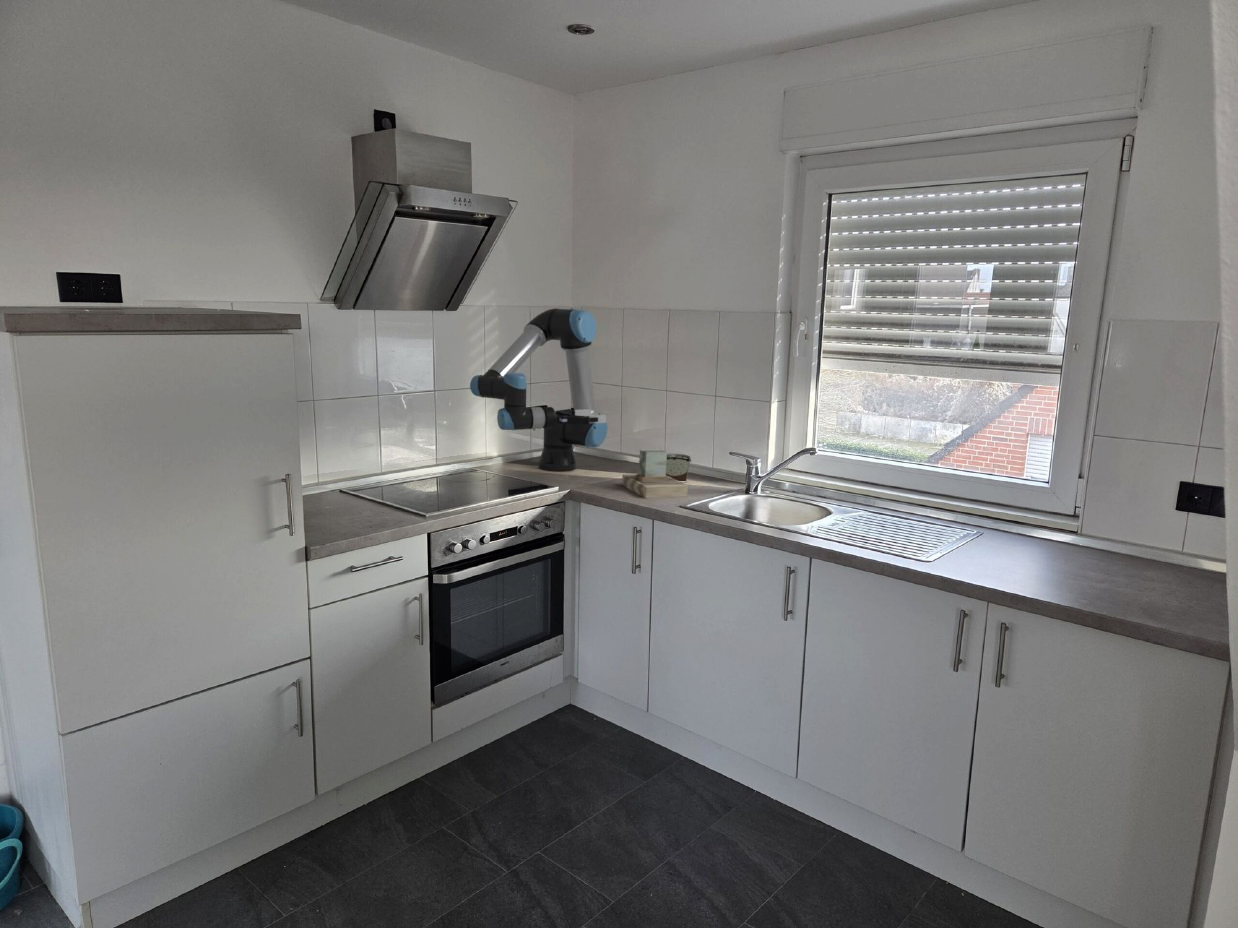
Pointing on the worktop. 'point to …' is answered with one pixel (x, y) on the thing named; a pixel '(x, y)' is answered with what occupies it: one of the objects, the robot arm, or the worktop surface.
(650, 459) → the pale green block
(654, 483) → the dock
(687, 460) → the food container
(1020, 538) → the worktop surface
